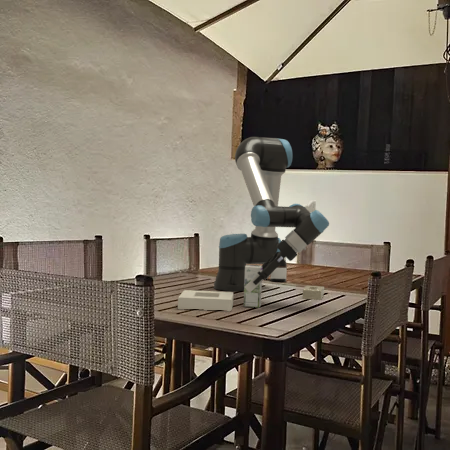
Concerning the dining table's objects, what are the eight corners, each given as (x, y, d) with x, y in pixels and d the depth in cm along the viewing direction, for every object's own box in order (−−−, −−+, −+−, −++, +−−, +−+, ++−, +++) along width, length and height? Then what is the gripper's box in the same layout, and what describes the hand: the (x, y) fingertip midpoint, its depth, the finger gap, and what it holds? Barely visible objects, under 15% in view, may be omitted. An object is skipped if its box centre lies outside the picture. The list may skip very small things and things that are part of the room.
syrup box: (261, 305, 196) (262, 265, 195) (259, 308, 190) (260, 266, 189) (245, 304, 197) (247, 264, 196) (243, 307, 191) (244, 265, 190)
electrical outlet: (324, 284, 229) (321, 290, 211) (323, 294, 229) (321, 301, 211) (307, 283, 230) (302, 289, 213) (306, 292, 230) (302, 299, 213)
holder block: (177, 309, 183) (178, 297, 183) (183, 301, 199) (184, 290, 199) (231, 311, 182) (231, 299, 182) (233, 303, 198) (233, 292, 198)
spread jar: (287, 283, 256) (288, 258, 256) (263, 282, 256) (263, 257, 256) (284, 279, 268) (285, 256, 268) (261, 278, 268) (262, 255, 268)
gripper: (301, 257, 179) (254, 300, 181) (295, 251, 204) (254, 289, 205) (286, 240, 179) (239, 284, 181) (282, 236, 204) (240, 274, 206)
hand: (247, 287), depth 193 cm, fingers open, 13 cm apart
